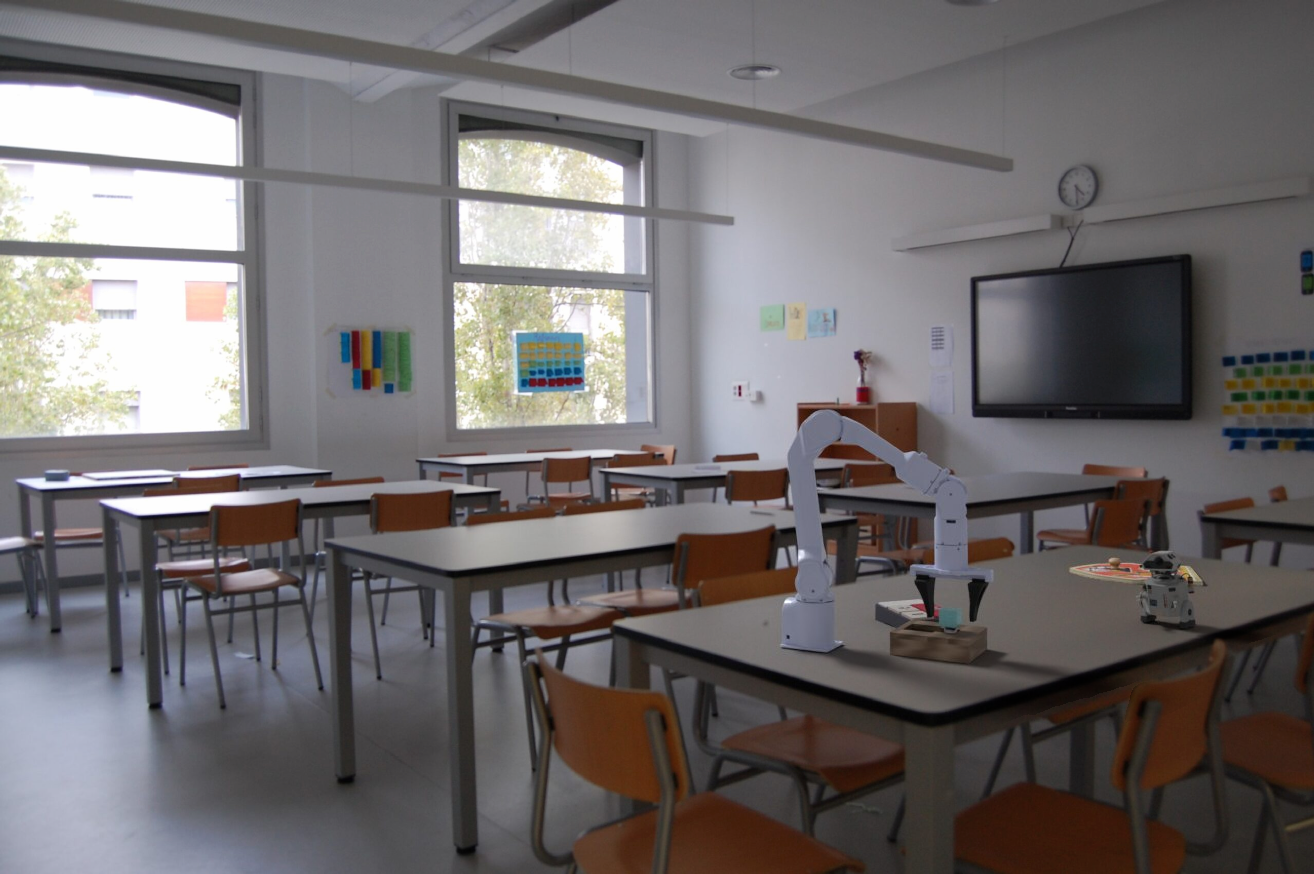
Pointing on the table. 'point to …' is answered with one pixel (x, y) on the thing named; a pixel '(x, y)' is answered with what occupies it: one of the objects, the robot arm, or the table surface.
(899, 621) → the calculator
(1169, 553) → the figurine
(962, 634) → the keyhole plate
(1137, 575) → the knob puzzle
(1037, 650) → the table surface
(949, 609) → the peg
